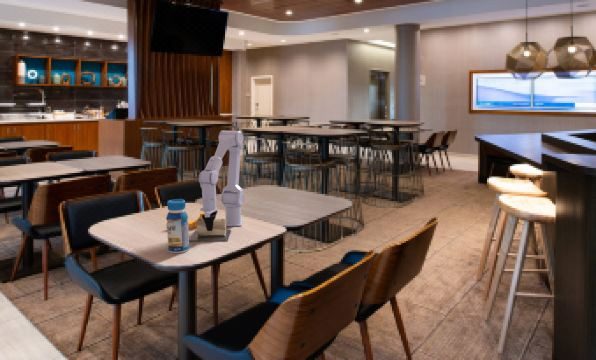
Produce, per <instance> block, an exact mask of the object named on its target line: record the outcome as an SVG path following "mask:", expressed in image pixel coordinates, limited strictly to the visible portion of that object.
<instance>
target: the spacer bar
mask: <svg viewBox="0 0 596 360" xmlns="http://www.w3.org/2000/svg"><path fill="white" fill-rule="evenodd" d="M197 219H198V218H197ZM197 219H196V220H197ZM196 222H197V227H196V230H197V235H225V234H226V230H227V226H226V218H215V219H214V222H213V230H212V231H207V228H206V225H205V222H204V220H203V219H198V220H197V221H196Z"/></svg>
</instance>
